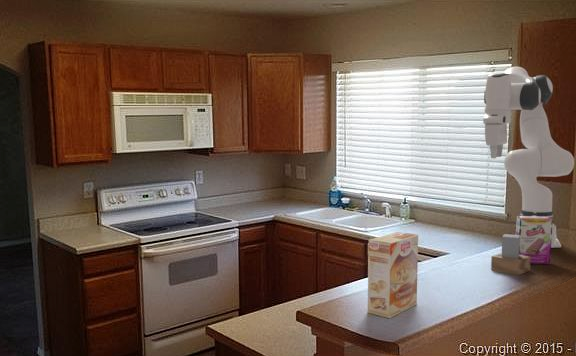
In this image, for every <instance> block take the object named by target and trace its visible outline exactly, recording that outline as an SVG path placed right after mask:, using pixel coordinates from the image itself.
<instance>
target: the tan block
mask: <svg viewBox="0 0 576 356" xmlns="http://www.w3.org/2000/svg"><path fill="white" fill-rule="evenodd" d="M490 265H491V266H490V270H491V271H493V272H499V273H504V274H509V275H514V276H519V275H521V274H524V273H527V272H530V271H531V264H530V257H529V256H523V255H519V257H518V259H515V258H505V257H502V252H501V253H498V254H495V255H491V263H490Z"/></svg>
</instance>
